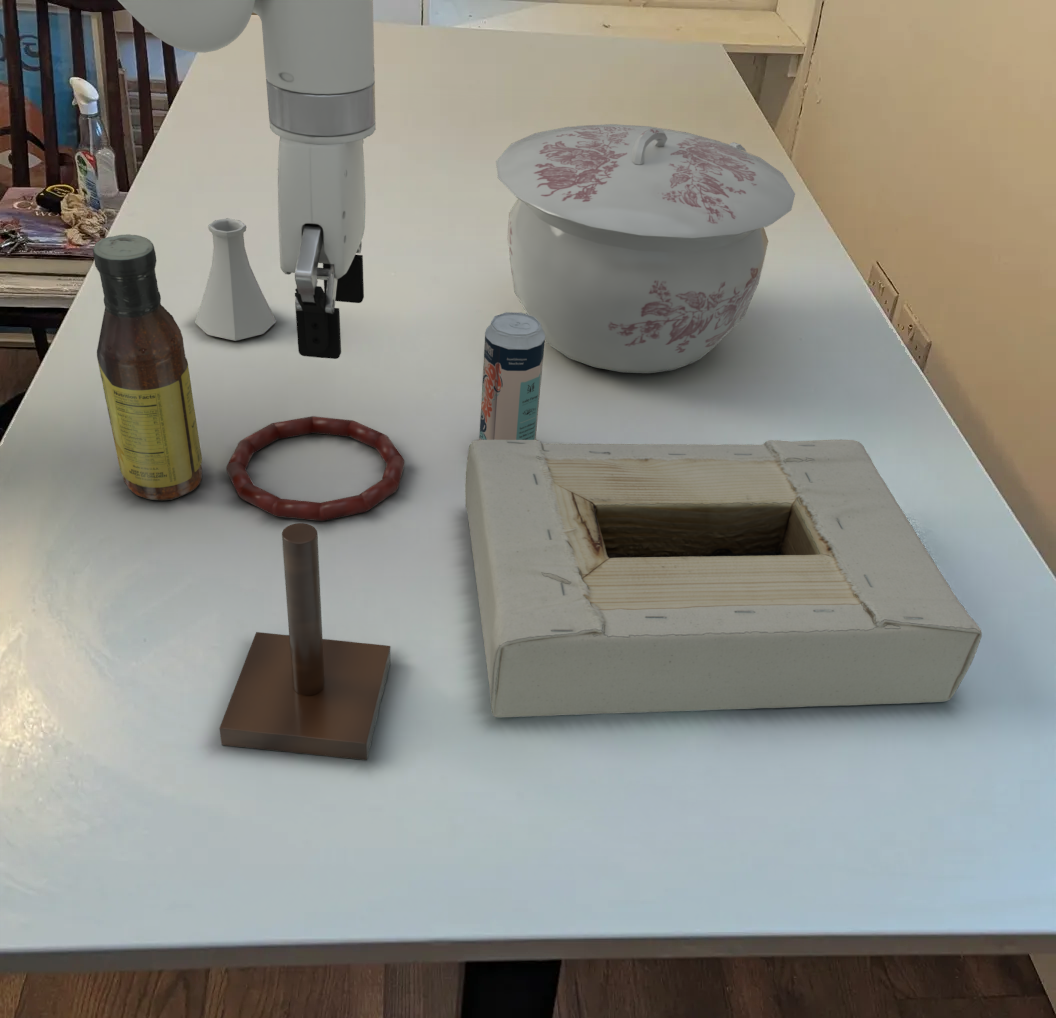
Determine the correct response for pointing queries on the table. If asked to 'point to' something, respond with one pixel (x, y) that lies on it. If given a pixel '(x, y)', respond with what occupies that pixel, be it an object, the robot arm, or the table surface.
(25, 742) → the table surface
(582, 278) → the chamber pot
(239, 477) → the ring
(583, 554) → the box
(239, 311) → the flask
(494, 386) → the beer can
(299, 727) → the post
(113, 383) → the sauce bottle
